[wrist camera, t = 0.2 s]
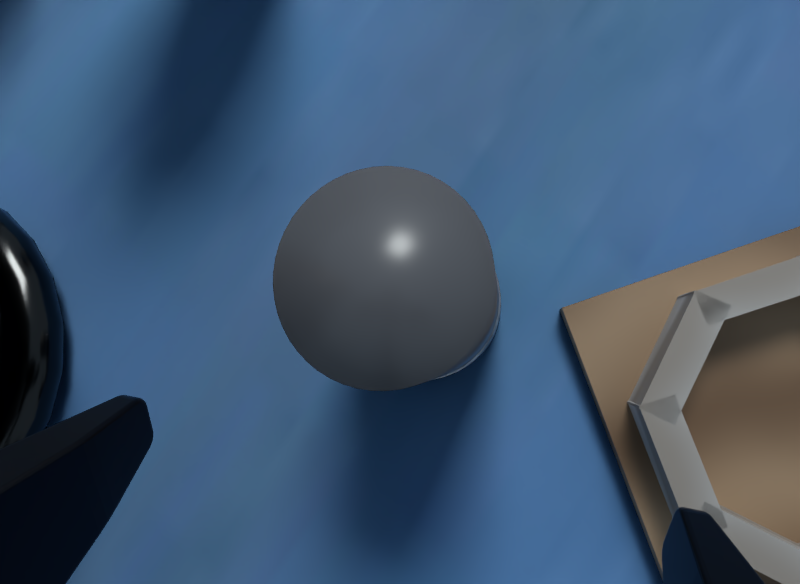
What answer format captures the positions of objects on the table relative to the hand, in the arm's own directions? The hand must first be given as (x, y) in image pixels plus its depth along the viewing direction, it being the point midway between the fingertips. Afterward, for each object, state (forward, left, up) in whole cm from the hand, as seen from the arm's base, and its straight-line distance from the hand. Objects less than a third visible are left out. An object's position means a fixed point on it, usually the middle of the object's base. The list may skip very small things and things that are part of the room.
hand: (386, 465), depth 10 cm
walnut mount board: (-4, -11, -14) cm, 19 cm away
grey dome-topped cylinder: (+4, 0, -14) cm, 15 cm away
